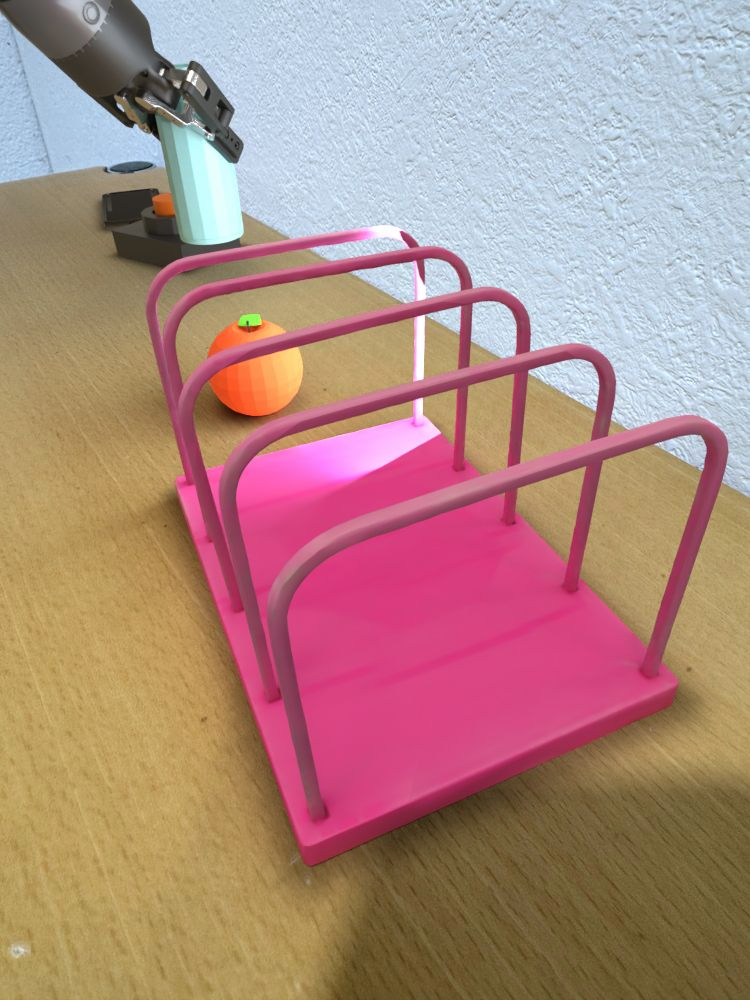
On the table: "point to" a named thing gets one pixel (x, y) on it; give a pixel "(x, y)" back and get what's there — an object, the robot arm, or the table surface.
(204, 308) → the table surface
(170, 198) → the button
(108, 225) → the phone
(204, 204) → the mint green bottle
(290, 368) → the clementine
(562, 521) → the table surface
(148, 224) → the dock
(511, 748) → the file sorter
